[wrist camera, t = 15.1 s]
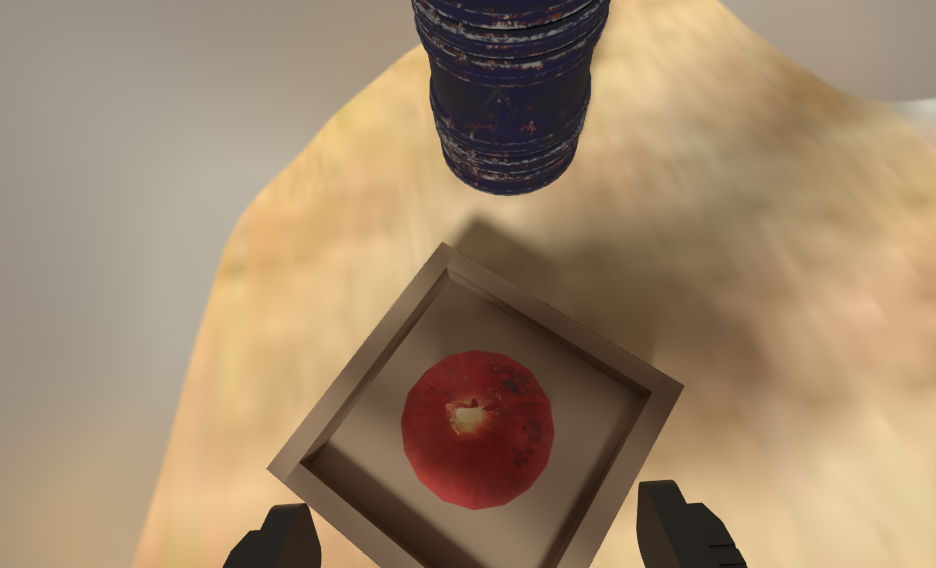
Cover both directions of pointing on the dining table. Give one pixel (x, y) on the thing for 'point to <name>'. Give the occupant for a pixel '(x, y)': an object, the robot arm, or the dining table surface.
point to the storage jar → (509, 85)
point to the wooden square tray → (390, 473)
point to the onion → (477, 429)
